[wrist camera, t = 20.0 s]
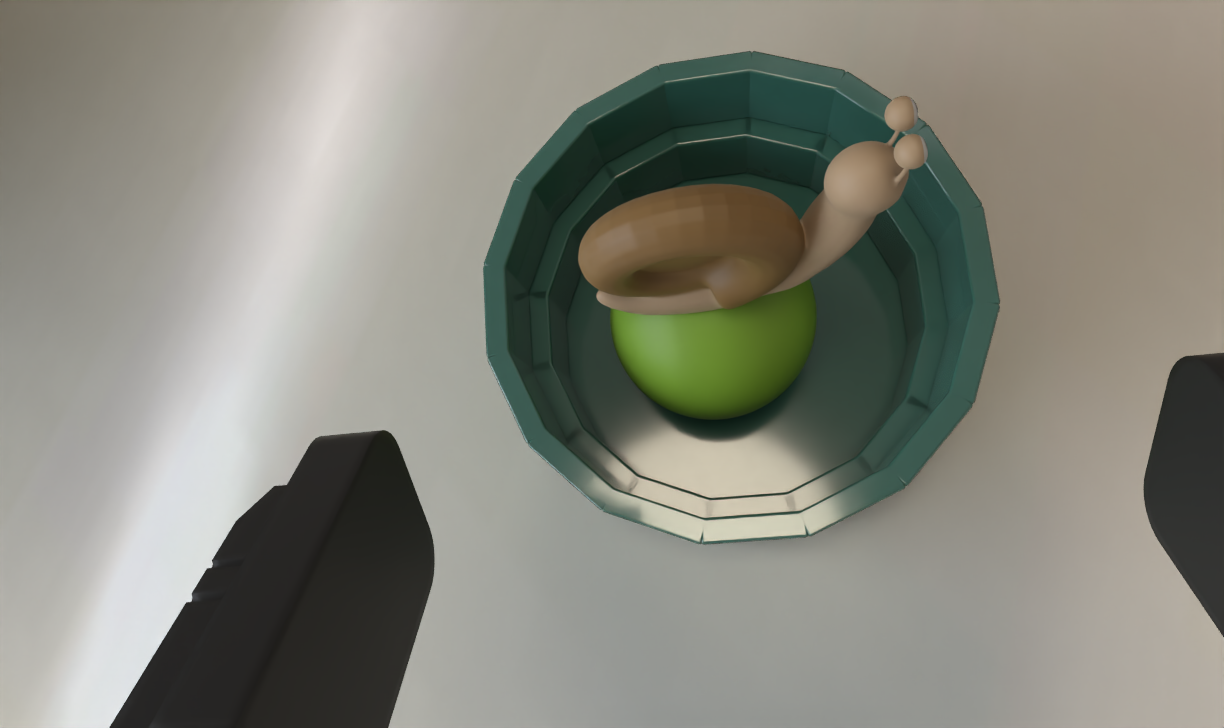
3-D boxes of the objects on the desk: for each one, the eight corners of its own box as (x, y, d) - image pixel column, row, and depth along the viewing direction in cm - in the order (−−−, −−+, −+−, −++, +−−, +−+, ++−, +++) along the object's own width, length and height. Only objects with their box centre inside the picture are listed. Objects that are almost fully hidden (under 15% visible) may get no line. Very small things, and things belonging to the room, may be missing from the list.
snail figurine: (860, 408, 24) (971, 287, 12) (639, 445, 25) (547, 364, 13) (821, 232, 25) (890, -31, 13) (612, 272, 26) (506, 56, 14)
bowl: (546, 554, 25) (493, 559, 20) (527, 176, 28) (475, 90, 22) (972, 524, 23) (1039, 520, 18) (909, 125, 26) (951, 19, 21)
